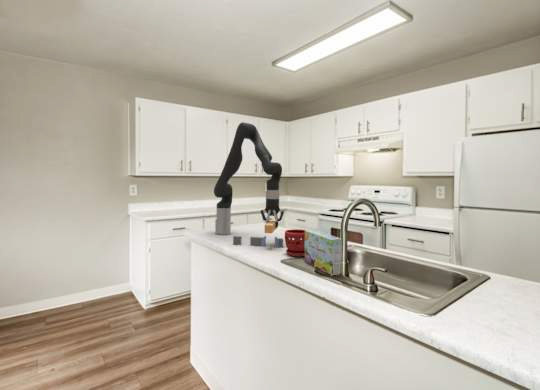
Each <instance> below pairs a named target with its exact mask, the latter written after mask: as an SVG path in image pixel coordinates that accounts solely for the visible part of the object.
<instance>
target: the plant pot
mask: <svg viewBox="0 0 540 390" xmlns="http://www.w3.org/2000/svg"><path fill="white" fill-rule="evenodd" d="M305 230H306V229H299V228H298V229H294V228H293V229H287V230H285V231H284V242H285V243H284V244H285V247H286V250H285V253H286V254H287V255H290V256H291V257H292V256H293V257H302V256H303V257H305Z"/></svg>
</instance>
